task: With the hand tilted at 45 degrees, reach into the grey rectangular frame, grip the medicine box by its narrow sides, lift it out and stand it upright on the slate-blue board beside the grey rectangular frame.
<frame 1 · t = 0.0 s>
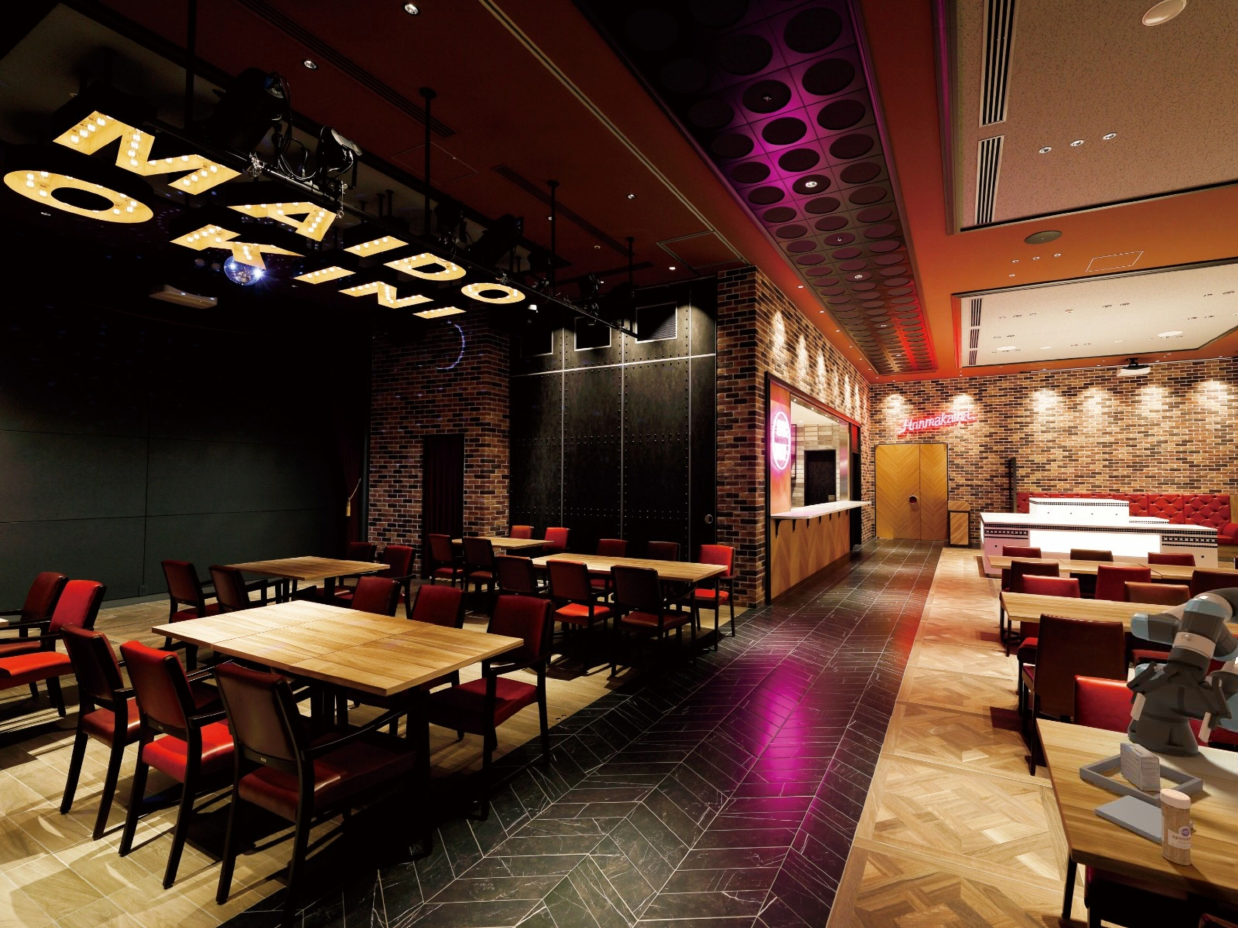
hand: (1166, 728, 145), 15 cm above the table, tool tilted 35°, fingers open, 13 cm apart
board: (1142, 820, 132), on the table
grey rectangular frame: (1140, 783, 148), on the table
sprinkles bottle: (1176, 859, 119), on the table
medicine box: (1140, 784, 148), resting in grey rectangular frame
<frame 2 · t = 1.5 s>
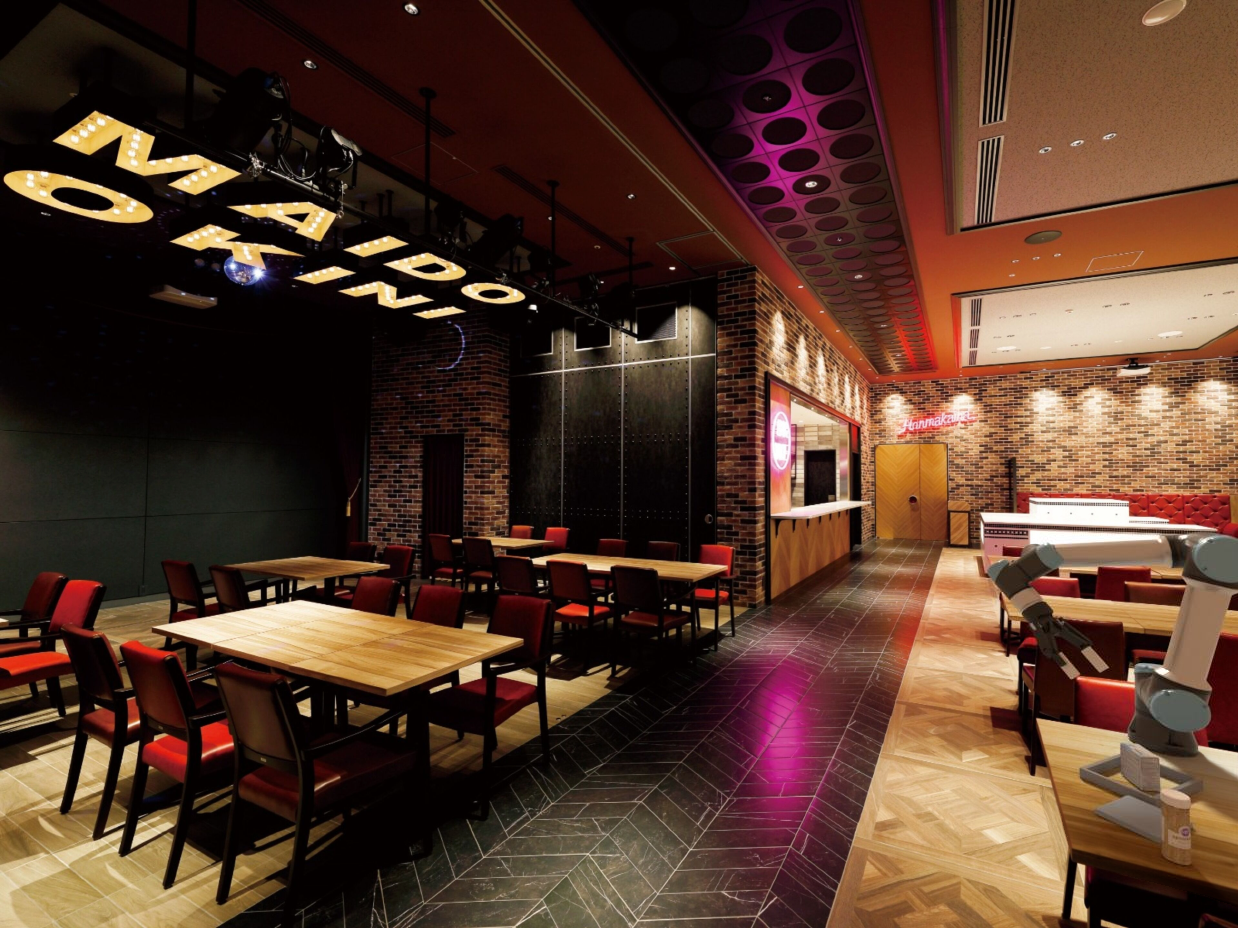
hand: (1090, 673, 158), 25 cm above the table, tool tilted 45°, fingers open, 13 cm apart
nothing on the table moved.
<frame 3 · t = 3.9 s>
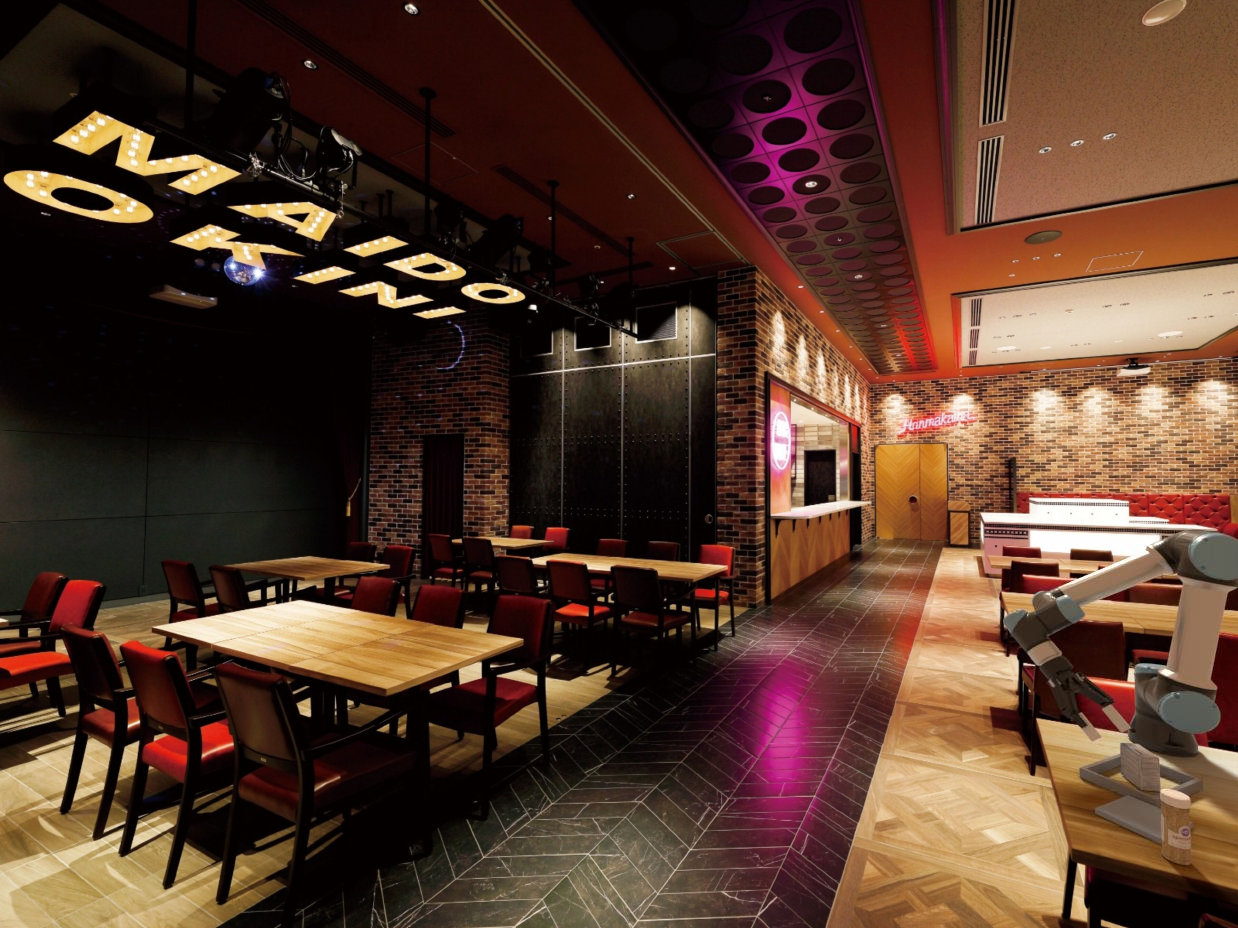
hand: (1112, 734, 153), 10 cm above the table, tool tilted 45°, fingers open, 13 cm apart
nothing on the table moved.
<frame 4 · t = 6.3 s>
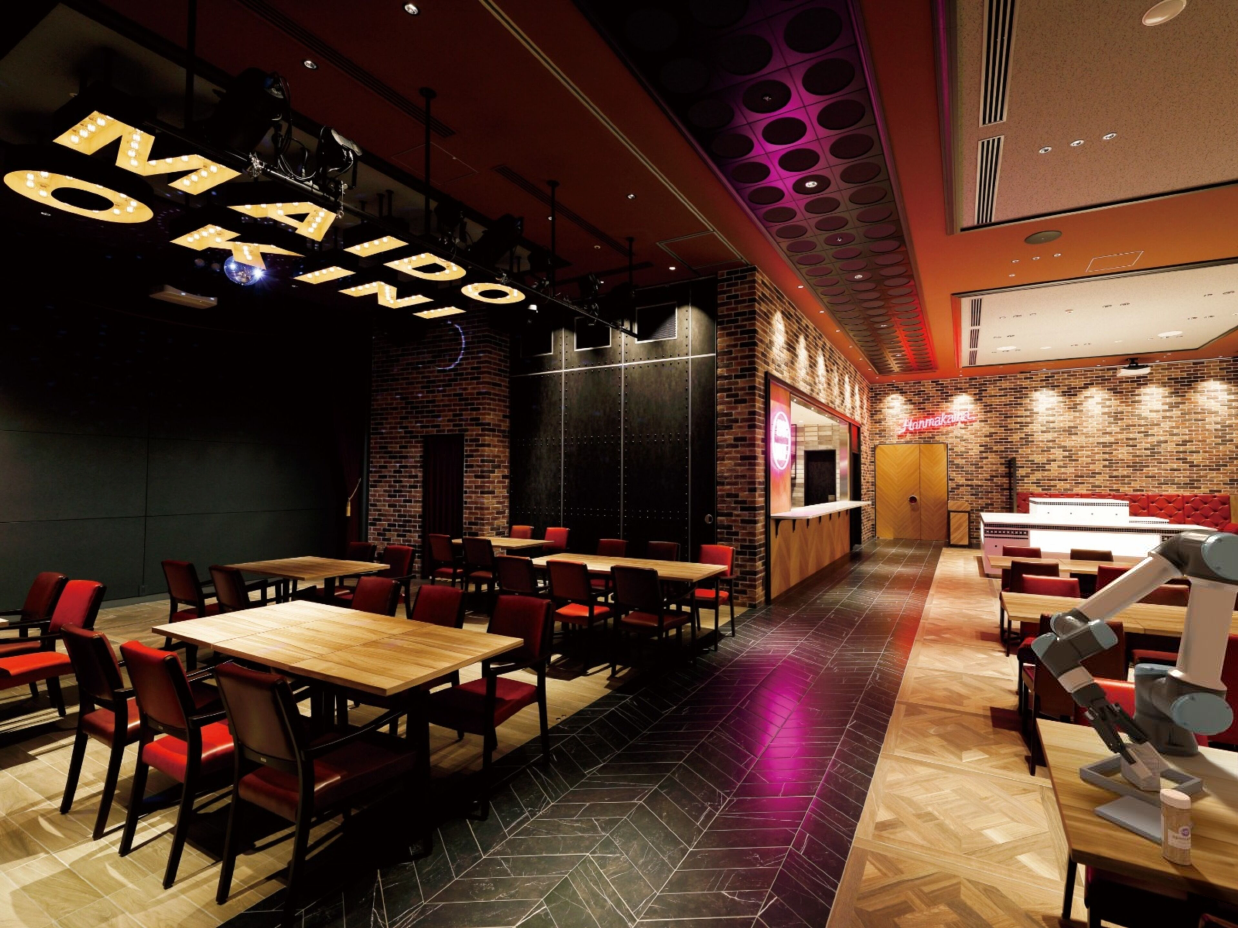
hand: (1156, 773, 145), 4 cm above the table, tool tilted 45°, fingers closed on medicine box, 8 cm apart
medicine box: (1140, 783, 148), resting in grey rectangular frame, touching gripper
everything else where it was.
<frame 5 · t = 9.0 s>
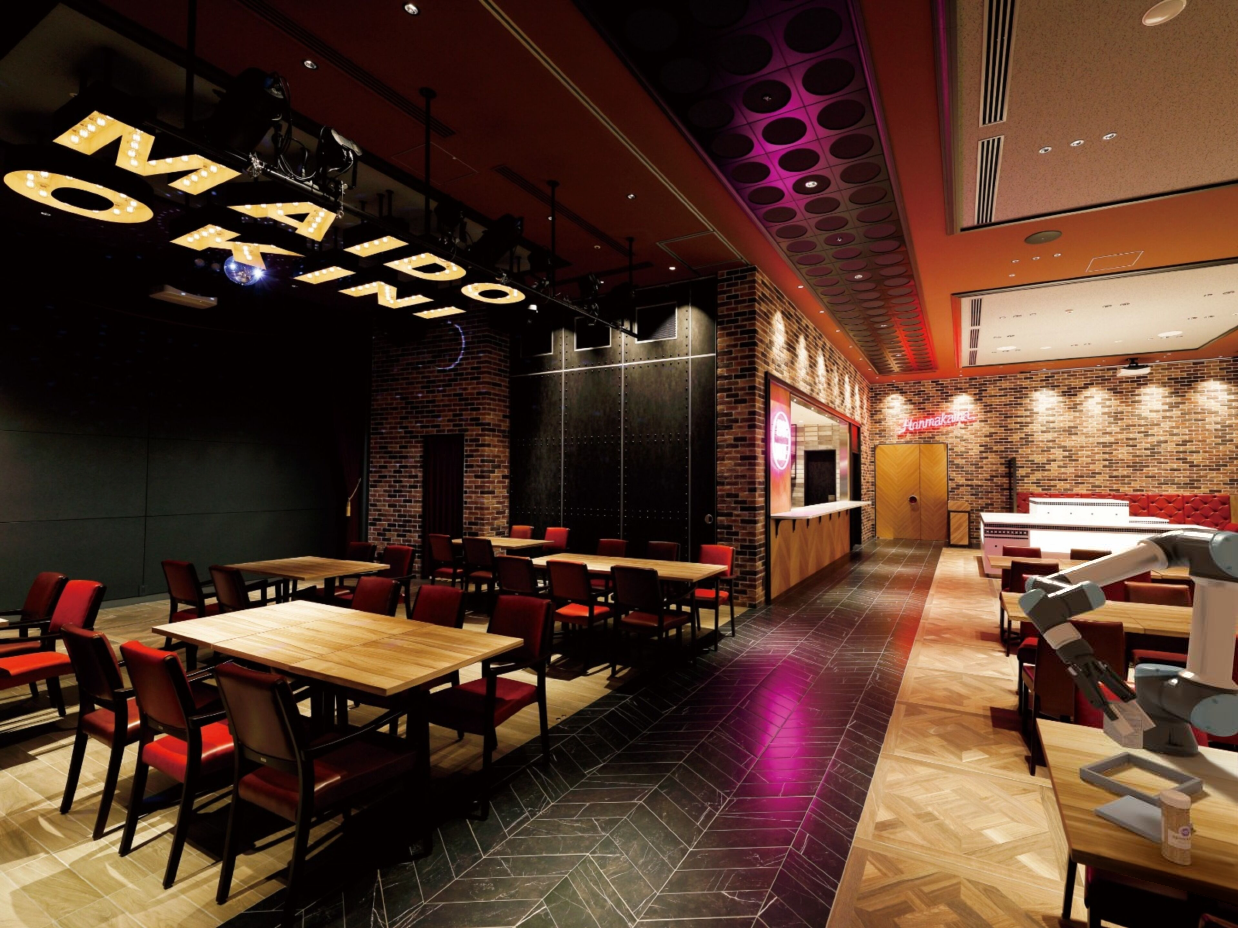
hand: (1139, 730, 138), 18 cm above the table, tool tilted 45°, fingers closed on medicine box, 8 cm apart
medicine box: (1122, 742, 142), point 13 cm above the table, touching gripper
everything else where it was.
when the fingers open (7 cm above the table, at t = 11.9 s): medicine box drops 1 cm, resting on board.
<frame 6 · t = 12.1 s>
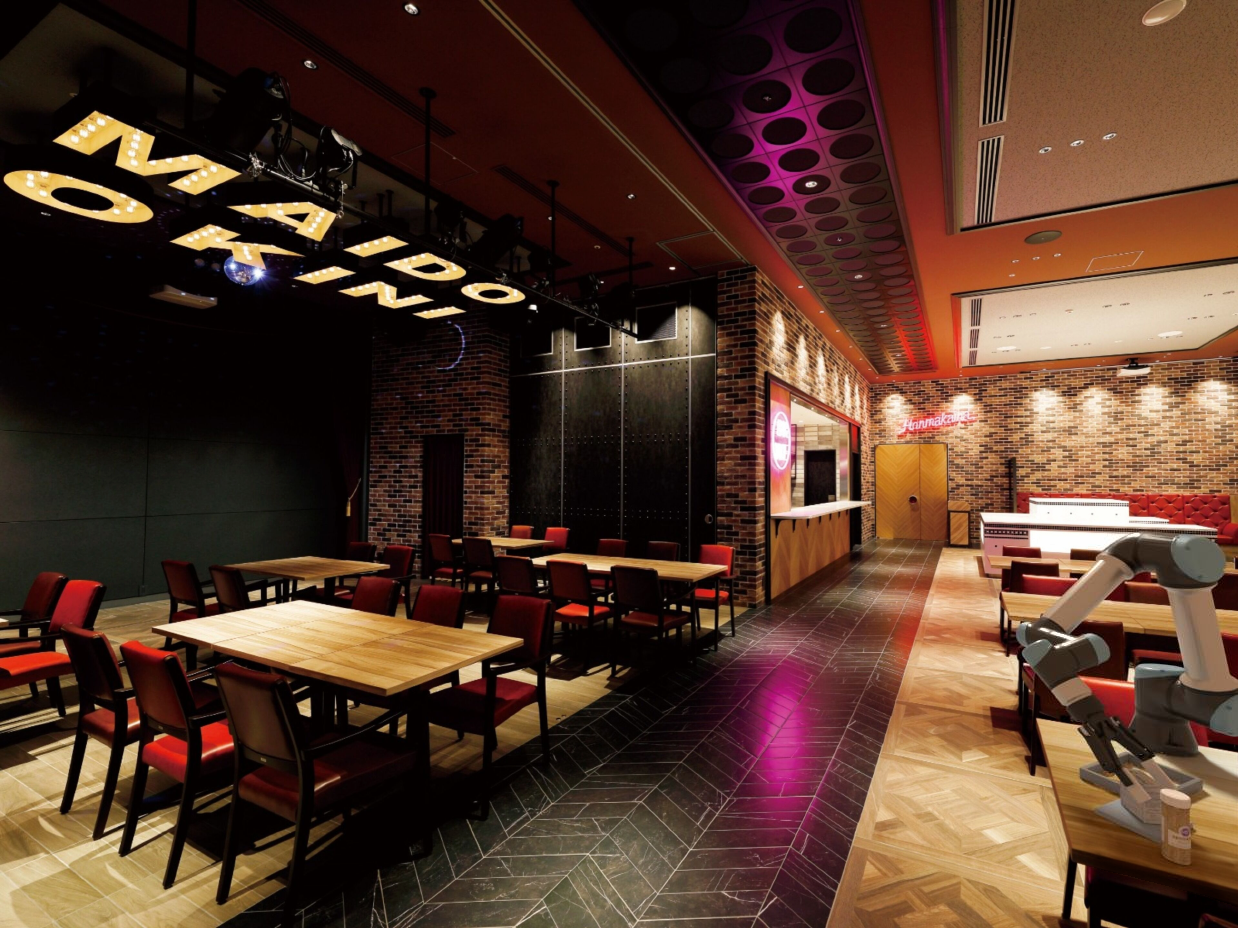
hand: (1158, 795, 129), 7 cm above the table, tool tilted 45°, fingers open, 10 cm apart
medicine box: (1142, 815, 132), point 1 cm above the table, touching board
everything else where it was.
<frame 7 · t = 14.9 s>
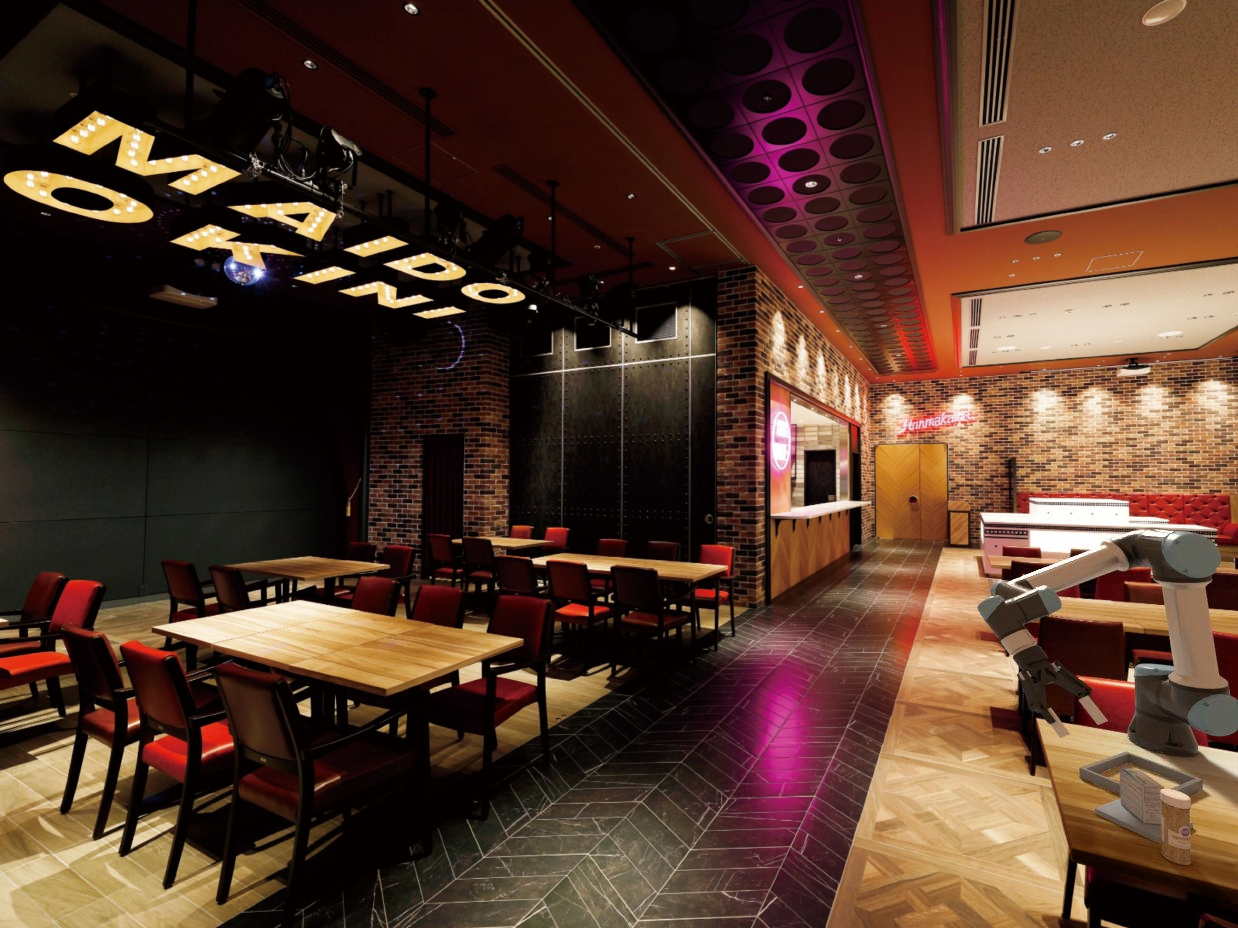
hand: (1084, 729, 144), 15 cm above the table, tool tilted 40°, fingers open, 13 cm apart
nothing on the table moved.
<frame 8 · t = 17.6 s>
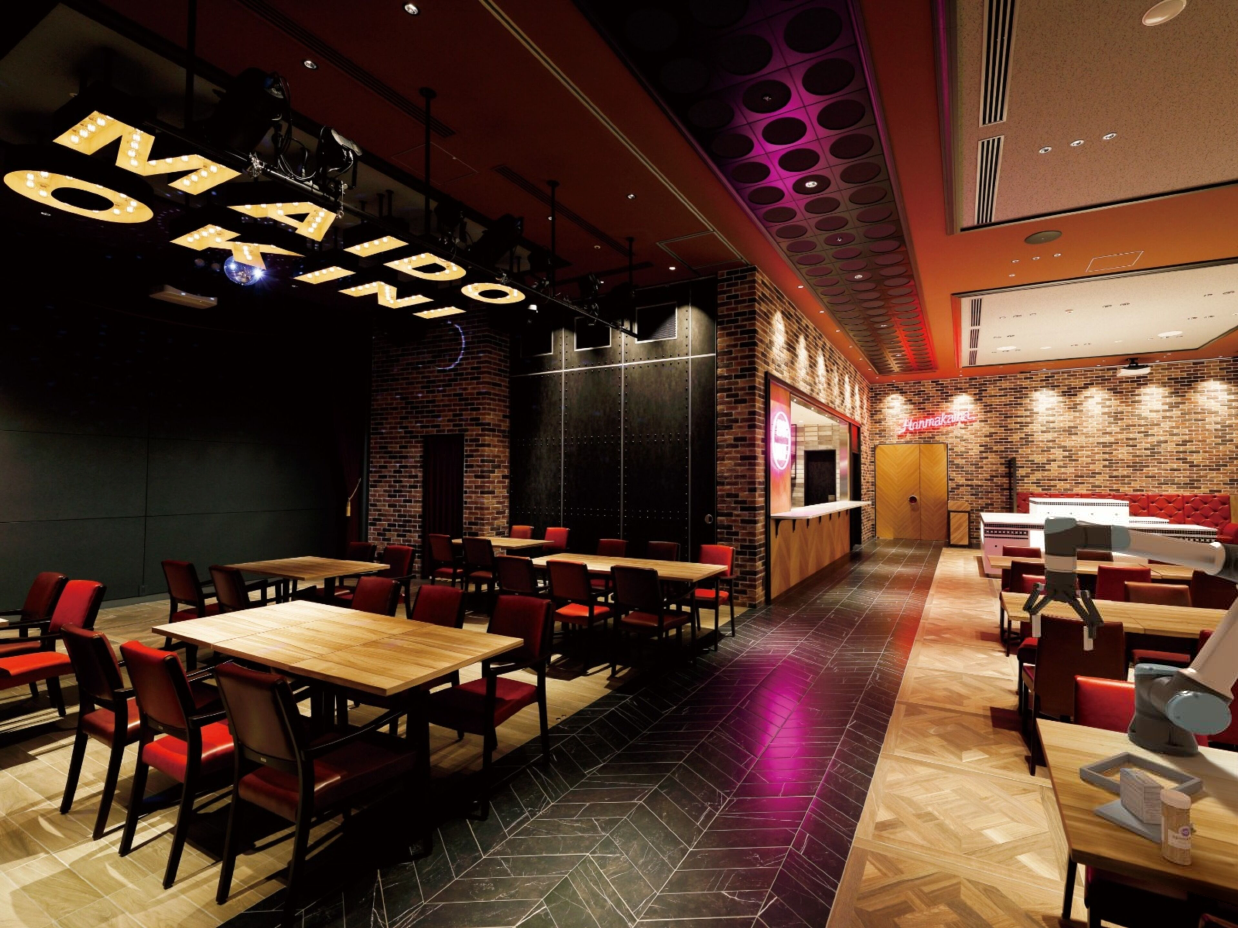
hand: (1061, 642, 167), 31 cm above the table, tool pointing down, fingers open, 13 cm apart
nothing on the table moved.
at the end: medicine box inside the target area on the board (0.2 cm from its centre), point 1.0 cm above the board's base; medicine box tilted 0°; the gripper is holding nothing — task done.
